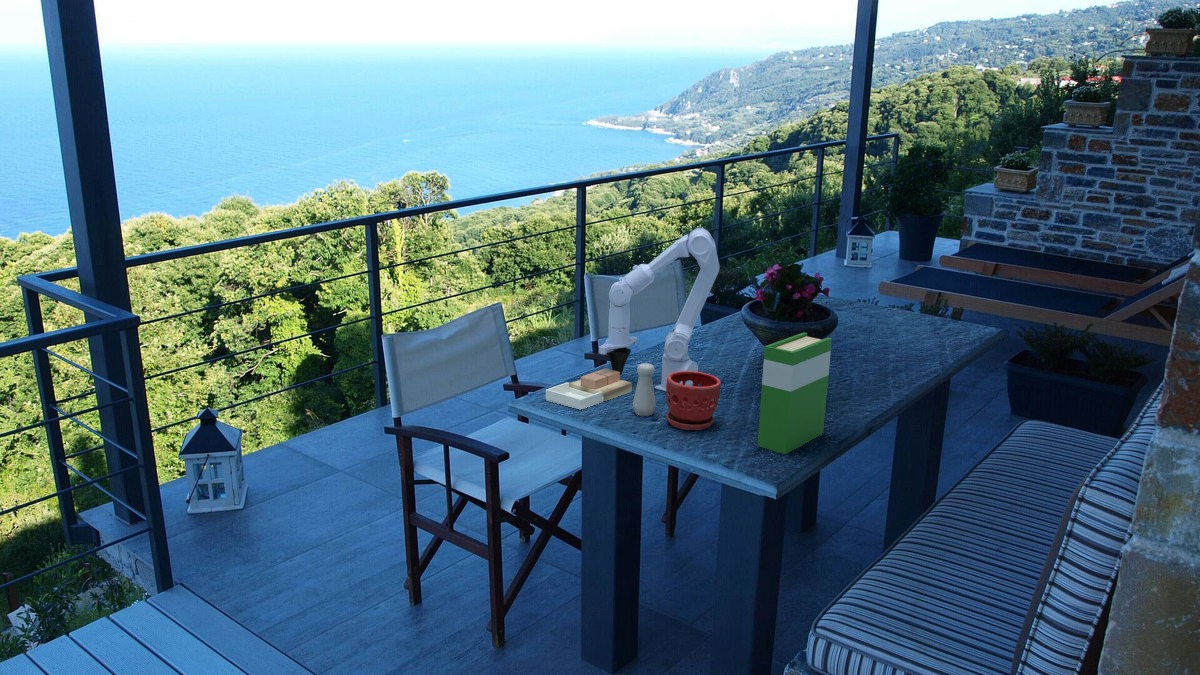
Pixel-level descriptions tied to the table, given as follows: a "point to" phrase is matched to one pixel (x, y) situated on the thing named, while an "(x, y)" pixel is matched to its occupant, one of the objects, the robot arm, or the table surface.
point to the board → (606, 389)
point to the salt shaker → (644, 391)
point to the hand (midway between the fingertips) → (617, 374)
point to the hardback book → (793, 392)
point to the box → (572, 397)
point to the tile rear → (610, 375)
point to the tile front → (593, 381)
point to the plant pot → (692, 399)
